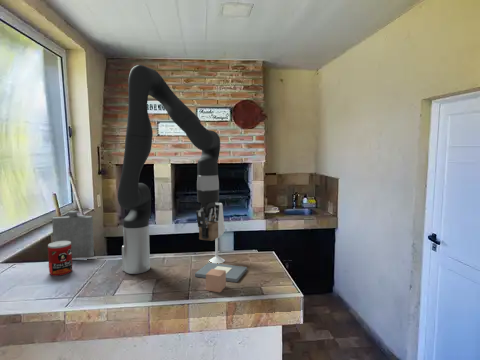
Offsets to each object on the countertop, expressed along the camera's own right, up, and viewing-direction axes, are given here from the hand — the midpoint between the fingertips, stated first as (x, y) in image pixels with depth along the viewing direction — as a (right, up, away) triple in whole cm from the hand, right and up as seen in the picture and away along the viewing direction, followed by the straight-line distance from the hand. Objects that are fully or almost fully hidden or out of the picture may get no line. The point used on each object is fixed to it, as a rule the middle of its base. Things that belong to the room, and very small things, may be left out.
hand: (208, 236), depth 111 cm
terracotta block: (+3, -16, -6) cm, 18 cm away
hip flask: (-60, -14, +25) cm, 67 cm away
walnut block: (0, -1, 0) cm, 1 cm away
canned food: (-57, -15, +8) cm, 59 cm away
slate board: (+4, -15, +7) cm, 17 cm away
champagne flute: (+1, -14, +21) cm, 25 cm away
